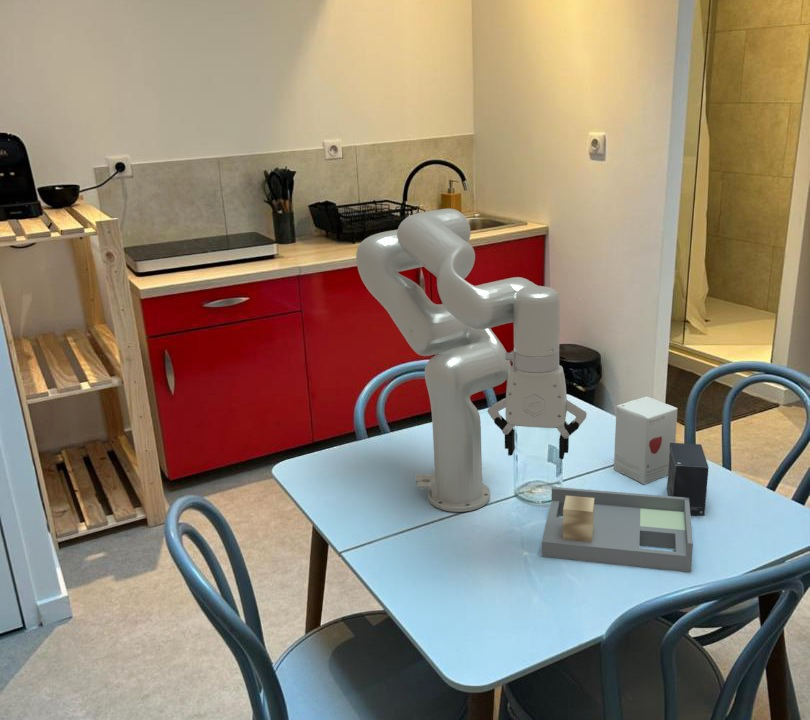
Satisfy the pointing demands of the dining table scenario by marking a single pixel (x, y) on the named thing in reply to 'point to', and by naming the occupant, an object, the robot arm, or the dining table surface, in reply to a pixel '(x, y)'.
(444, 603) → the dining table surface
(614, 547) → the tray
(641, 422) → the supplement box
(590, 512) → the beech block
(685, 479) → the small box
